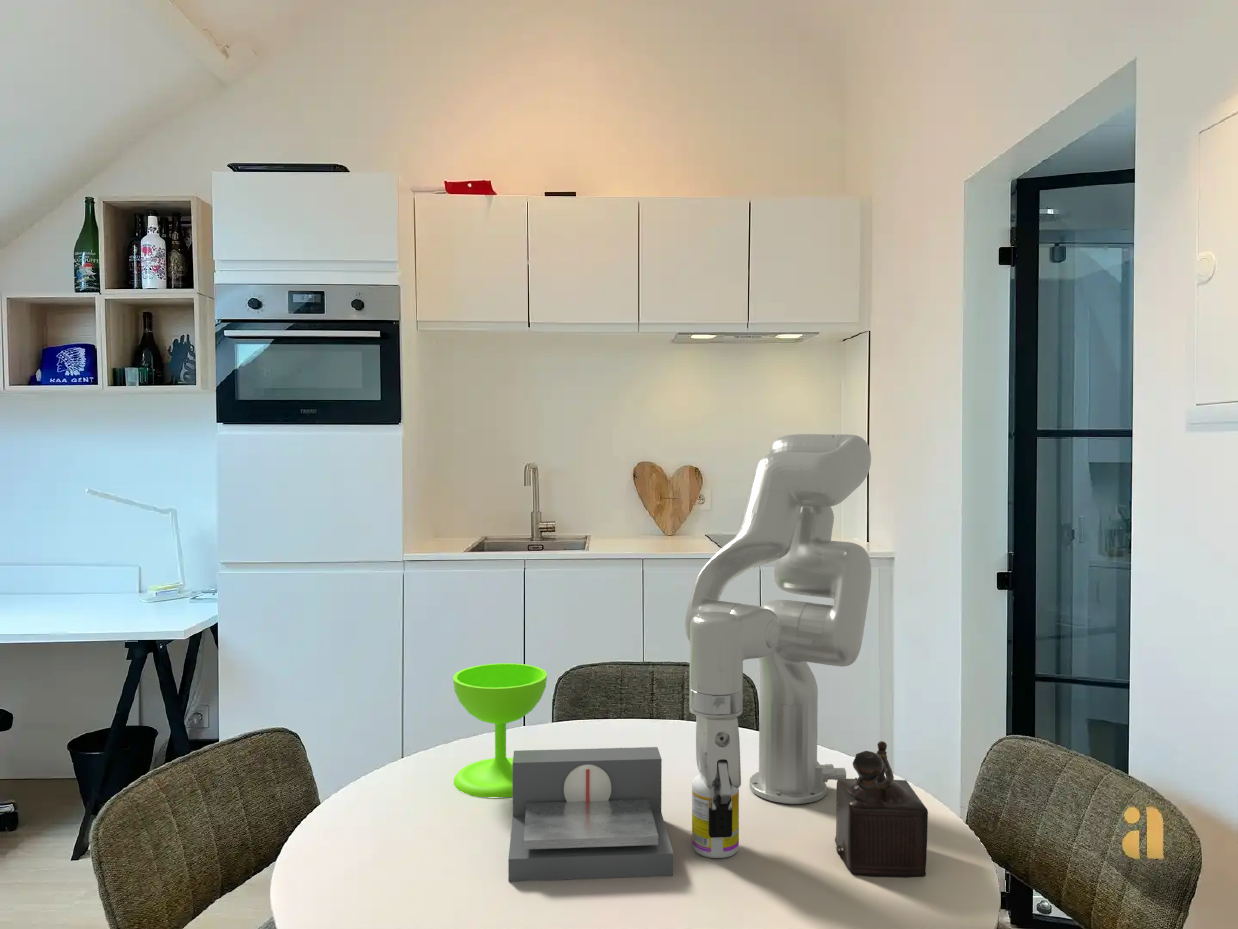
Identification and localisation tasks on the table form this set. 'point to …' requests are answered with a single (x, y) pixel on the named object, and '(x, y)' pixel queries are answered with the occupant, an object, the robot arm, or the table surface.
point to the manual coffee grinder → (880, 821)
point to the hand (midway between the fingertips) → (715, 823)
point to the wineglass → (496, 718)
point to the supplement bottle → (700, 822)
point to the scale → (587, 780)
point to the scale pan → (589, 824)
